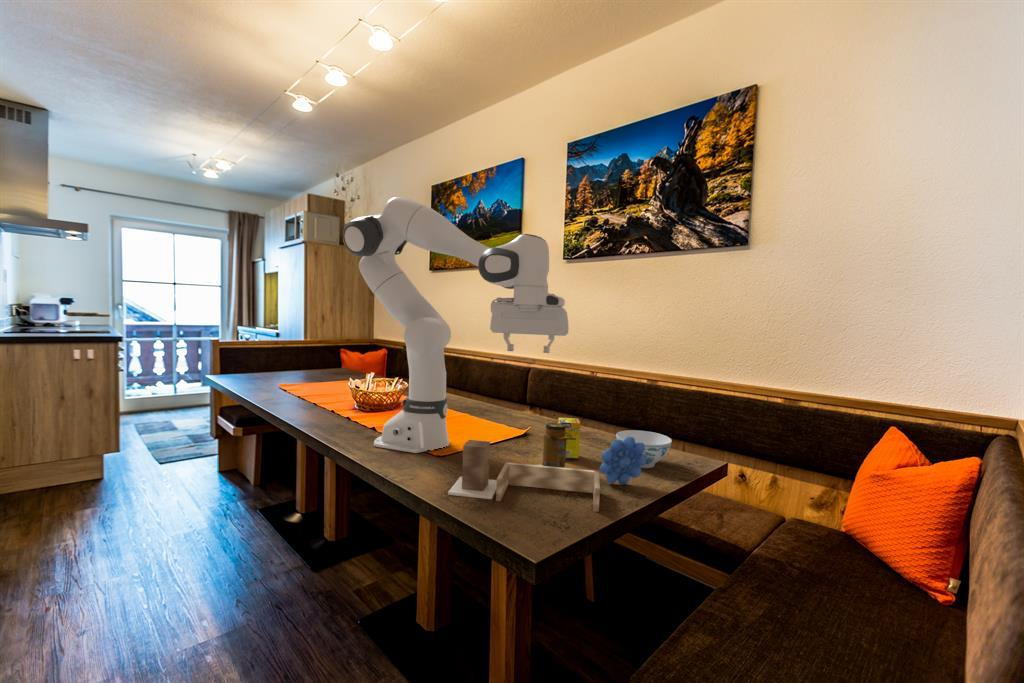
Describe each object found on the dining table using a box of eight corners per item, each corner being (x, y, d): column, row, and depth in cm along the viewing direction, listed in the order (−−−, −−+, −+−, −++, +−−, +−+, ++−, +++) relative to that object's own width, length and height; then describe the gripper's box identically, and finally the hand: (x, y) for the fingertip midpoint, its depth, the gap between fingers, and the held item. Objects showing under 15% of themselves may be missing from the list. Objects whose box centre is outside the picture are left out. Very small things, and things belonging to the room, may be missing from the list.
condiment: (561, 464, 125) (563, 421, 124) (573, 475, 116) (575, 429, 116) (536, 465, 123) (538, 421, 122) (546, 476, 115) (548, 429, 114)
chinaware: (677, 463, 129) (678, 437, 129) (659, 477, 117) (661, 448, 117) (627, 452, 138) (628, 427, 138) (606, 464, 126) (607, 437, 126)
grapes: (639, 478, 116) (642, 432, 115) (649, 488, 109) (651, 439, 108) (594, 477, 115) (597, 431, 114) (601, 487, 108) (603, 438, 108)
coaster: (448, 494, 100) (448, 492, 100) (460, 478, 110) (460, 476, 110) (491, 499, 99) (492, 496, 99) (500, 483, 109) (500, 480, 109)
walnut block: (461, 488, 103) (463, 445, 102) (467, 481, 107) (469, 439, 107) (483, 491, 102) (484, 447, 101) (488, 483, 107) (489, 441, 106)
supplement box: (579, 461, 128) (580, 423, 127) (557, 460, 128) (559, 422, 127) (576, 454, 134) (578, 418, 133) (556, 453, 134) (558, 417, 133)
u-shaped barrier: (495, 500, 98) (496, 478, 98) (504, 482, 109) (505, 462, 109) (598, 511, 95) (599, 488, 94) (597, 491, 106) (598, 471, 105)
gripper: (488, 296, 115) (486, 350, 116) (569, 299, 112) (566, 355, 112) (493, 297, 121) (491, 349, 122) (570, 300, 118) (567, 353, 119)
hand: (528, 352), depth 117 cm, fingers open, 8 cm apart
